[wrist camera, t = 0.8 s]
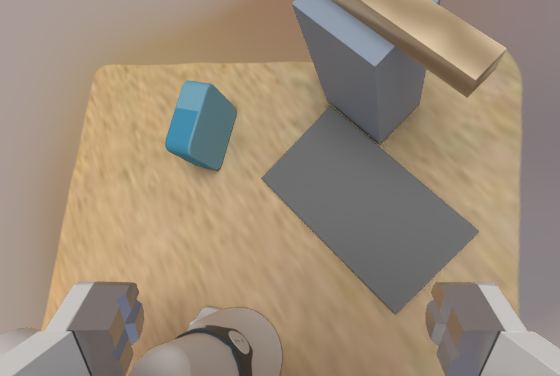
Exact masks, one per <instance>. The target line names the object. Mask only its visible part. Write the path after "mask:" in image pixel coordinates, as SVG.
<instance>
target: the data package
mask: <svg viewBox="0 0 560 376" xmlns="http://www.w3.org/2000/svg"><path fill="white" fill-rule="evenodd" d="M235 118H236V109H235V107H234V106H233V105H232V104H231V103H230V102H229V101H228V100H227V99H226V98H225V97H224V96H223V95H222V94H221V93H220V91H219V90H218V89H217V88H216V87H215V86H214V85H212V84H208V83H202V82H195V81H186V82H185V83H184V84H183V86H182V89H181V93H180V96H179V99H178V102H177V105H176V109H175V112H174V115H173V118H172V121H171V125H170V128H169V131H168V134H167V137H166V142H165V145H166V149H167V150H168V151H169V152H171V153H173V154H175V155H177V156H179V157H181V158H182V159H184V160H186V161H188V162H190V163H192V164H194V165H197V166H201V167H205V168H210V169H214V170H218V169H219V168H220V167H221V165H222V162H223V159H224V155H225V152H226V148H227V145H228V142H229V138H230V135H231V131H232V128H233V124H234V121H235Z"/></svg>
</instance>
